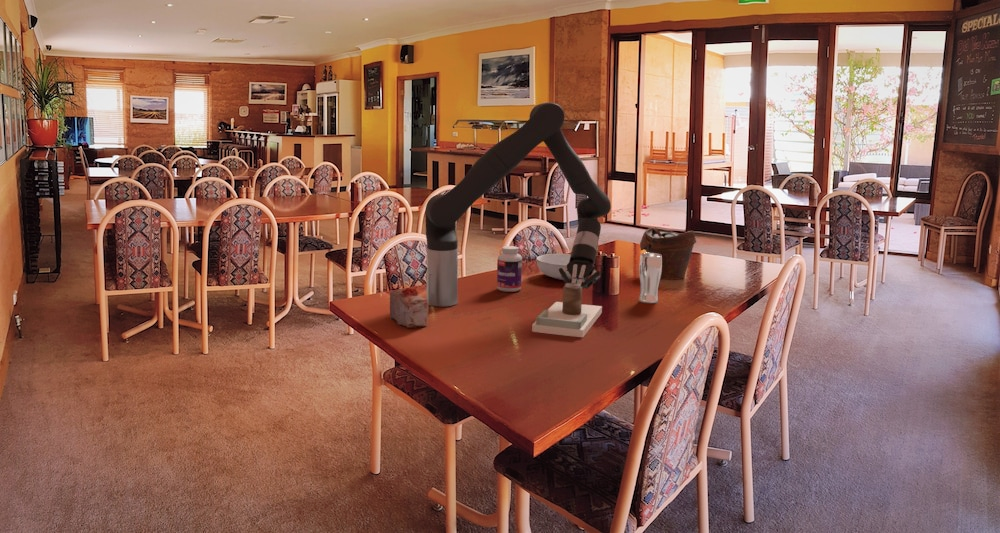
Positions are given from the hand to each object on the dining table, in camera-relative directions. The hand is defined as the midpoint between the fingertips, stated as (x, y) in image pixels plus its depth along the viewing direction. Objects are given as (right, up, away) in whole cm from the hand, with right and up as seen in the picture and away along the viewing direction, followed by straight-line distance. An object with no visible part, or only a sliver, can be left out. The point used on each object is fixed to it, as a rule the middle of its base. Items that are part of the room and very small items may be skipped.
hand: (574, 298), depth 211 cm
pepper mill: (-1, -4, -2) cm, 5 cm away
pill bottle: (-18, +1, +31) cm, 36 cm away
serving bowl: (+2, +5, +51) cm, 51 cm away
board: (-2, -6, -4) cm, 8 cm away
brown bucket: (+40, +6, +57) cm, 69 cm away
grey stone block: (-47, -7, -8) cm, 48 cm away
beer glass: (+26, -2, +20) cm, 33 cm away
